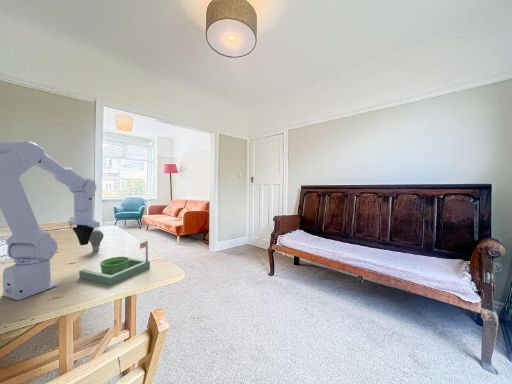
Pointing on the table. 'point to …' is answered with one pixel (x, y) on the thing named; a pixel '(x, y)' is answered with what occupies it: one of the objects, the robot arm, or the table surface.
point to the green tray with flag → (107, 279)
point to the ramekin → (114, 265)
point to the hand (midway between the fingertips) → (84, 244)
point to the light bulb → (96, 239)
